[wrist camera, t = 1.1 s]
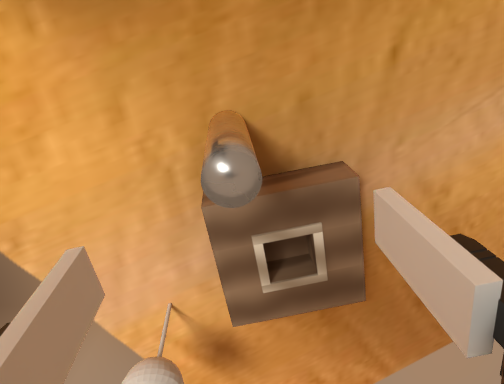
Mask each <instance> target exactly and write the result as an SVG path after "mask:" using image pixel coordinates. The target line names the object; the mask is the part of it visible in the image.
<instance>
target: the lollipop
mask: <svg viewBox="0 0 504 384" xmlns="http://www.w3.org/2000/svg"><path fill="white" fill-rule="evenodd" d="M171 306H172V304H171V303H169V304H168V307H167V312H166V317H165V322H164V327H163V332H162V336H161V341H160V346H159V351H158V356H157V357H150V358H146V359H144V360H142V361H141V362H139V363H137V364H136V365H135V366H134V367H133V368H132V369H131V370H130V371H129V373H128V374H127V376H126V377H125V379H124V380H123V382H122V384H184V382H183V379H182V375H181V373H180V371H179V369H178V367H177V366H176V365H175V364H174V363H173V362H172V361H170V360H168V359H166V358H163V357H162V352H163V347H164V342H165V337H166V332H167V327H168V321H169V316H170V311H171Z"/></svg>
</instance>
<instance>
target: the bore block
mask: <svg viewBox="0 0 504 384" xmlns="http://www.w3.org/2000/svg"><path fill="white" fill-rule="evenodd" d="M201 208H202V212H203V216H204V219H205V223H206V227H207V231H208V235H209V238H210V242H211V246H212V250H213V253H214V257H215V261H216V265H217V269H218V272H219V276H220V280H221V284H222V287H223V291H224V295H225V299H226V303H227V306H228V310H229V314H230V318H231V321H232V325H233V327H236V326H241V325H246V324H251V323H256V322H261V321H266V320H271V319H277V318H282V317H287V316H292V315H297V314H302V313H307V312H312V311H317V310H322V309H327V308H332V307H337V306H342V305H347V304H352V303H357V302H362V301H366V295H365V276H364V257H363V238H362V219H361V200H360V181H359V176H358V175H357V174H356V173H355V172H354V171H353V170H352V169H351V168H350V167H349V166H348V165H347V164H345V163H344V162H343V161H340V162H335V163H330V164H325V165H320V166H315V167H310V168H305V169H300V170H294V171H289V172H284V173H279V174H274V175H269V176H264V177H262V185H261V189H260V191H259V193H258V194H257V196H256V197H255V198H254V199H253V200H252V201H251V202H249V203H248V204H246V205H244V206H241V207H238V208H225V207H221V206H219V205H217V204H215V203H213V202H212V201H211V200H209V198H208V197H207V196H206V195H205V193H204V191H203V198H202V206H201Z"/></svg>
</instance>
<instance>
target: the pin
mask: <svg viewBox="0 0 504 384" xmlns="http://www.w3.org/2000/svg"><path fill="white" fill-rule="evenodd" d="M201 185H202V189H203V191H204V193H205V195H206V196H207V197H208V198H209V200H211V201H212V202H213V203H215V204H217V205H219V206H221V207H225V208H238V207H241V206H244V205H246V204H248V203H249V202H251V201H252V200H253V199H254V198H255V197H256V196H257V194H258V193H259V191H260V189H261V185H262V173H261V170H260V166H259V163H258V160H257V157H256V154H255V151H254V148H253V145H252V142H251V139H250V135H249V132H248V129H247V126H246V123H245V121H244V119H243V118H242V117H241V116H240V115H239V114H238V113H236V112H234V111H227V110H226V111H221V112H219V113H217V114H216V115H215V116H214V117H213V118H212V119H211V121H210V124H209V129H208V135H207V142H206V148H205V155H204V161H203V167H202V174H201Z"/></svg>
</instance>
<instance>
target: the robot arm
mask: <svg viewBox="0 0 504 384" xmlns="http://www.w3.org/2000/svg"><path fill="white" fill-rule="evenodd" d="M373 192H374V224H375V243H376V244H377V245H378V246H379V248H380V249H381V250H382V252H383V253H384V254H385V255H386V257H387V258H388V259H389V260H390V262H391V263H392V264H393V265H394V267H395V268H396V269H397V271H398V272H399V273H400V274H401V276H402V277H403V278H404V279H405V281H406V282H407V283H408V284H409V286H410V287H411V288H412V290H413V291H414V292H415V293H416V295H417V296H418V297H419V298H420V300H421V301H422V302H423V304H424V305H425V306H426V307H427V309H428V310H429V311H430V312H431V314H432V315H433V316H434V317H435V319H436V320H437V321H438V323H439V324H440V325H441V326H442V328H443V329H444V330H445V331H446V333H447V334H448V335H449V336H450V338H451V339H452V340H453V342H454V343H455V344H456V345H457V347H458V348H459V349H460V350H461V352H462V353H463V354H464V355H465V357H466V358H471V357H476V356H481V355H486V354H491V353H492V348H493V342H494V339H495V340H496V341H497V342H498V343H499V344H500V345H501V346H502V347H503V349H504V261H502V260H501V259H500V258H498V257H496V255H494V254H493V253H492V252H490V251H489V250H487V249H486V248H485V247H484V246H483V245H481V244H480V243H479V242H477V241H476V240H474V239H472V238H469V237H467V236H464V235H462V234H457V235H451V236H449V235H448V234H447V233H445V232H444V231H443V230H442V229H441V228H439V227H438V226H437V225H436V224H434V223H433V222H432V221H431V220H430V219H428V218H427V217H426V216H425V215H424V214H422V213H421V212H420V211H419V210H418V209H416V208H415V207H414V206H413V205H412V204H410V203H409V202H408V201H407V200H405V199H404V198H403V197H402V196H401V195H399V194H398V193H397V192H396V191H395V190H393V189H392V188H391V187H387V188H382V189H377V190H373ZM104 296H105V293H104V291H103V289H102V286H101V284H100V282H99V280H98V277H97V275H96V273H95V271H94V268H93V266H92V264H91V261H90V259H89V257H88V255H87V252H86V250H85V248H84V246H82V247H77V248H72V249H67V250H66V251H65V252H64V254H63V255H62V256H61V258H60V259H59V260H58V262H57V263H56V264H55V266H54V267H53V268H52V270H51V271H50V272H49V273H48V275H47V276H46V277H45V279H44V280H43V281H42V283H41V284H40V285H39V287H38V288H37V289H36V291H35V292H34V293H33V294H32V296H31V297H30V298H29V300H28V301H27V302H26V304H25V305H24V306H23V308H22V309H21V310H20V312H19V313H18V314H17V315H16V317H15V318H14V319H13V321H12V322H11V323H7V324H6V325H5V326H3V327H2V328H1V329H0V384H64V381H65V379H66V377H67V375H68V373H69V371H70V368H71V366H72V364H73V362H74V360H75V358H76V356H77V353H78V351H79V349H80V347H81V345H82V343H83V341H84V338H85V337H86V334H87V332H88V330H89V328H90V326H91V324H92V322H93V320H94V317H95V315H96V313H97V311H98V309H99V307H100V305H101V302H102V300H103V298H104ZM500 375H501V376H502V380H501V384H504V355H503V360H502V366H501V371H500Z"/></svg>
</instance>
